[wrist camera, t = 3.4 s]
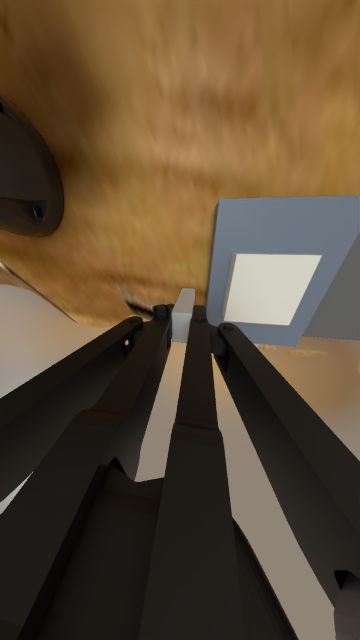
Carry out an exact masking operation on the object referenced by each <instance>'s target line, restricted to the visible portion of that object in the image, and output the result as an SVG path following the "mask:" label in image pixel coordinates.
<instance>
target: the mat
mask: <svg viewBox="0 0 360 640" xmlns="http://www.w3.org/2000/svg"><path fill="white" fill-rule="evenodd" d="M302 336H307V337H321V338H335V339H347V340H360V232H359V234H358V235H357V237H356V239H355V241H354V243H353V244H352V246H351V248H350V250H349V252H348V253H347V255H346V257H345V259H344V261H343V262H342V264H341V266H340V268H339V270H338V271H337V273H336V275H335V277H334V279H333V281H332V282H331V284H330V286H329V288H328V290H327V291H326V293H325V295H324V297H323V299H322V300H321V302H320V304H319V306H318V308H317V309H316V311H315V313H314V315H313V317H312V318H311V320H310V322H309V324H308V326H307V328H306V329H305V331H304V333H303V335H302Z"/></svg>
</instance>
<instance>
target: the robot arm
mask: <svg viewBox="0 0 360 640" xmlns="http://www.w3.org/2000/svg"><path fill="white" fill-rule="evenodd" d="M63 205H64V201H63V190H62V185H61V180H60V177H59V173H58V170H57V167H56V165H55V162H54V160H53V158H52V155H51V153H50V151H49V149H48V147H47V146H46V144H45V142H44V140H43V139H42V137H41V136H40V134H39V133H38V131H37V130H36V128H35V127H34V126H33V124H32V123H31V122H30V121H29V120H28V118H27V117H26V116H25V115H24V114H23V113H22V112H21V111H20V110H19V109H18V108H17V107H16V106H15V105H13V104H12V103H11V102H10V101H8V100H7V99H6V98H4V97H3V96H2V95H0V229H2V230H5V231H8V232H11V233H14V234H18V235H24V236H45V235H48V234H50V233H52V232H53V231H54V230H55V229H56V228H57V227H58V225H59V223H60V221H61V218H62V214H63ZM194 300H195V289H188V288H182V290H181V292H180V294H179V297H178V299H177V301H176V303H175V304H167V305H164V304H161V305H156V306H154V307H153V316H154V317H153V319H152V320H151V321H147V322H143V319H142V318H141V317H137V316H132V317H129V318H127V319H125V320H124V321H122V322H121V323H119V324H117V325H116V326H114V327H113V328H111V329H110V330H108V331H106V332H105V333H103V334H102V335H100V336H98V337H97V338H96V339H94V340H92V341H91V342H89V343H87V344H86V345H84V346H83V347H81V348H79V349H78V350H76V351H75V352H73V353H71V354H70V355H68V356H67V357H65V358H64V359H62V360H60V361H59V362H57V363H56V364H54V365H52V366H51V367H49V368H48V369H46V370H45V371H43V372H42V373H40V374H38V375H37V376H35V377H33V378H32V379H30V380H29V381H27V382H26V383H24V384H22V385H21V386H19V387H18V388H16V389H15V390H13V391H11V392H10V393H8V394H7V395H5V396H3V397H2V398H0V502H1V501H3V500H4V499H5V498H6V497H7V496H8V495H9V494H10V493H11V492H12V491H14V490H15V489H16V488H17V487H18V486H19V485H20V484H21V483H22V482H23V481H24V480H25V479H26V478H27V477H28V476H29V475H30V474H31V473H32V472H33V473H32V474H31V475H30V477H29V478H28V479H27V481H26V482H25V484H24V485H23V486H22V488H21V489H20V490H19V492H18V493H17V494H16V496H15V497H14V499H13V500H12V501H11V502H10V504H9V505H8V506H7V508H6V509H5V510H4V512H3V513H2V514H0V640H299V639H298V637H297V635H296V633H295V631H294V629H293V627H292V625H291V623H290V622H289V620H288V618H287V616H286V614H285V612H284V610H283V608H282V606H281V604H280V602H279V600H278V598H277V596H276V594H275V592H274V590H273V588H272V586H271V584H270V582H269V580H268V578H267V576H266V575H265V572H264V571H263V568H262V566H261V565H260V563H259V561H258V559H257V557H256V555H255V553H254V551H253V549H252V547H251V545H250V544H249V541H248V540H247V538H246V536H245V535H244V533H243V532H242V530H241V528H240V527H239V525H238V524H237V522H236V521H235V520H234V518H233V517H232V513H231V504H230V495H229V486H228V477H227V469H226V459H225V451H224V444H223V437H222V433H221V432H220V430H219V428H218V421H217V411H216V401H215V389H214V378H213V367H212V356H211V353H213V354H214V358H215V360H216V362H217V365H218V367H219V369H220V371H221V374H222V376H223V378H224V381H225V383H226V385H227V387H228V389H229V392H230V394H231V396H232V398H233V400H234V403H235V405H236V407H237V409H238V412H239V414H240V416H241V419H242V421H243V423H244V425H245V428H246V430H247V432H248V434H249V436H250V439H251V441H252V443H253V445H254V448H255V450H256V452H257V454H258V457H259V458H260V461H261V463H262V466H263V468H264V470H265V472H266V475H267V477H268V479H269V481H270V483H271V486H272V488H273V490H274V492H275V495H276V497H277V499H278V502H279V504H280V506H281V508H282V510H283V513H284V515H285V517H286V519H287V521H288V523H289V525H290V527H291V529H292V531H293V533H294V536H295V538H296V540H297V542H298V544H299V546H300V548H301V550H302V551H303V553H304V555H305V557H306V559H307V561H308V563H309V565H310V566H311V568H312V570H313V572H314V574H315V576H316V577H317V579H318V581H319V583H320V585H321V586H322V588H323V589H324V591H325V593H326V594H327V596H328V598H329V600H330V601H331V603H332V604H333V606H334V608H335V609H334V624H335V632H336V640H360V461H359V460H358V459H357V458H356V457H355V456H354V455H353V454H352V453H351V451H350V450H349V449H348V448H347V447H346V446H345V445H344V444H343V443H342V441H341V440H340V439H339V438H338V437H337V436H336V435H335V434H334V433H333V431H332V430H331V429H330V428H329V427H328V426H327V425H326V424H325V423H324V422H323V420H322V419H321V418H320V417H319V416H318V415H317V414H316V413H315V412H314V411H313V409H312V408H311V407H310V406H309V405H308V404H307V403H306V402H305V401H304V399H303V398H302V397H301V396H300V395H299V394H298V393H297V392H296V391H295V390H294V388H293V387H292V386H291V385H290V384H289V383H288V382H287V381H286V380H285V379H284V377H283V376H282V375H281V374H280V373H279V372H278V371H277V370H276V369H275V367H274V366H273V365H272V364H271V363H270V362H269V361H268V360H267V359H266V358H265V357H264V355H263V354H262V353H261V352H260V351H259V350H258V349H257V348H256V346H255V345H254V344H253V343H252V342H251V341H250V340H249V339H248V338H247V337H246V335H245V334H244V333H243V332H242V331H241V330H240V329H239V328H238V327H237V326H236V325H234V324H232V323H228V322H227V323H225V322H224V323H220V324H219V326H218V327H217V326H213V325H211V324H209V323H208V319H207V314H206V308H205V307H204V306H198V305H194ZM171 339H172V341H173V342H182V343H187V346H186V353H185V360H184V366H183V373H182V379H181V386H180V392H179V399H178V405H177V412H176V418H175V423H174V424H173V428H172V433H171V440H170V445H169V452H168V458H167V464H166V470H165V477H163V478H158V479H152V480H147V481H142V482H135V481H134V480H135V477H136V473H137V469H138V465H139V458H140V450H141V445H142V441H143V438H144V435H145V431H146V428H147V425H148V421H149V418H150V415H151V411H152V408H153V404H154V401H155V397H156V395H157V391H158V388H159V384H160V381H161V378H162V374H163V371H164V368H165V364H166V361H167V358H168V354H169V351H170V347H171ZM127 340H128V343H129V344H128V345H125V341H127Z"/></svg>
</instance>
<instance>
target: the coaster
mask: <svg viewBox="0 0 360 640" xmlns="http://www.w3.org/2000/svg"><path fill="white" fill-rule="evenodd" d="M321 257H322V255H312V254H277V253H232V258H231V263H230V269H229V275H228V280H227V286H226V291H225V297H224V303H223V308H222V317H223V320H224V321H231V322H246V323H260V324H275V325H289V324H290V322H291V320H292V318H293V316H294V314H295V312H296V309H297V307H298V305H299V303H300V301H301V299H302V297H303V295H304V293H305V290H306V288H307V286H308V284H309V282H310V280H311V278H312V276H313V274H314V271H315V269H316V267H317V265H318V263H319V261H320V259H321Z"/></svg>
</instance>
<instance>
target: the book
mask: <svg viewBox="0 0 360 640" xmlns="http://www.w3.org/2000/svg"><path fill="white" fill-rule="evenodd" d="M359 232H360V195H350V196H312V197H274V198H235V199H219V201H218V203H217V205H216V210H215V219H214V228H213V238H212V247H211V256H210V265H209V275H208V284H207V293H206V303H205V308H206V314H207V319H208V323H209V324H211V325H213V326H217V327H218V326H219V324H220V323H224V322H225V323H227V322H228V323H232V324H234V325H236V326H237V327H238V328H239V329H240V330H241V331H242V332H243V333H244V334H245V335H246V337H247V338H248V339H249V340H250V341H251V342H252V343H257V344H269V345H282V346H293V347H296V345H297V344H298V342H299V340H300V338H301V336H302V335H303V333H304V331H305V329H306V328H307V326H308V324H309V322H310V320H311V318H312V317H313V315H314V313H315V311H316V309H317V308H318V306H319V304H320V302H321V300H322V299H323V297H324V295H325V293H326V291H327V290H328V288H329V286H330V284H331V282H332V281H333V279H334V277H335V275H336V273H337V271H338V270H339V268H340V266H341V264H342V262H343V261H344V259H345V257H346V255H347V253H348V252H349V250H350V248H351V246H352V244H353V243H354V241H355V239H356V237H357V235H358V234H359ZM232 253H277V254H312V255H322V257H321V259H320V261H319V263H318V265H317V267H316V269H315V271H314V274H313V276H312V278H311V280H310V282H309V284H308V286H307V288H306V290H305V293H304V295H303V297H302V299H301V301H300V303H299V305H298V307H297V309H296V312H295V314H294V316H293V318H292V320H291V322H290V324H289V325H275V324H260V323H246V322H231V321H224V320H223V317H222V308H223V303H224V297H225V291H226V286H227V280H228V275H229V269H230V263H231V258H232Z"/></svg>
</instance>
